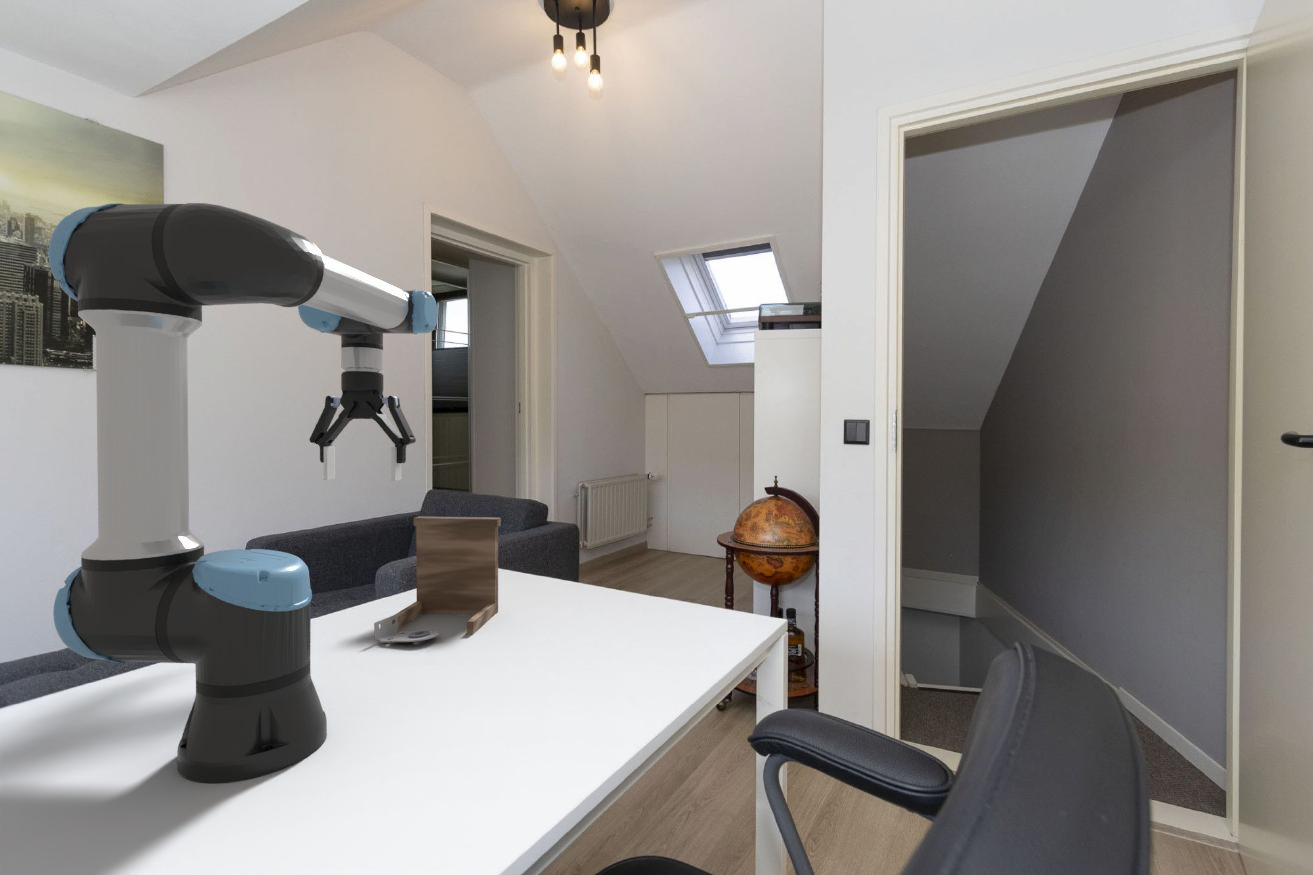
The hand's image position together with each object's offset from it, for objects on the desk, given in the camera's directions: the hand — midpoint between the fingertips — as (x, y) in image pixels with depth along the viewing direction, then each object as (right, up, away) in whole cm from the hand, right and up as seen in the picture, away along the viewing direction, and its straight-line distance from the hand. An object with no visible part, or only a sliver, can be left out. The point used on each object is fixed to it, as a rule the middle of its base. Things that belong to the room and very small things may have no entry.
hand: (362, 480), depth 127 cm
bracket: (+16, -29, -14) cm, 36 cm away
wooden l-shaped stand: (+16, -28, 0) cm, 32 cm away
